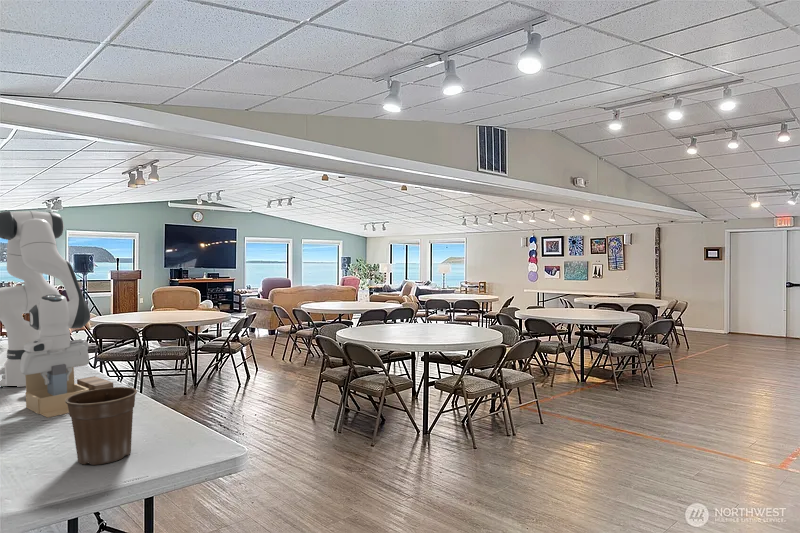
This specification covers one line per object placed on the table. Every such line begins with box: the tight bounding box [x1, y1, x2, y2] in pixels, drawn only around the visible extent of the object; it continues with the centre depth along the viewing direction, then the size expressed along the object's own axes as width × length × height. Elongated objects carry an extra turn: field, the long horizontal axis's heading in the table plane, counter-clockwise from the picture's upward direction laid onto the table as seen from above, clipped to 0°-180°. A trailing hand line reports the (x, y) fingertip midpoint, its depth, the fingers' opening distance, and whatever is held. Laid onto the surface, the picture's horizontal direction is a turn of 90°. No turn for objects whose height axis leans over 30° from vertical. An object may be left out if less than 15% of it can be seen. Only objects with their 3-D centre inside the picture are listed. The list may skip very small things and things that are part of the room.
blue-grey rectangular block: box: [47, 364, 67, 396], centre depth 191 cm, size 6×4×10 cm, turn 50°
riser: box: [76, 375, 114, 391], centre depth 200 cm, size 16×6×6 cm, turn 50°
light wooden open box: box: [25, 367, 89, 419], centre depth 188 cm, size 20×16×13 cm
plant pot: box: [65, 386, 138, 466], centre depth 143 cm, size 16×16×16 cm
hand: (56, 382), depth 191 cm, fingers closed on blue-grey rectangular block, 4 cm apart
